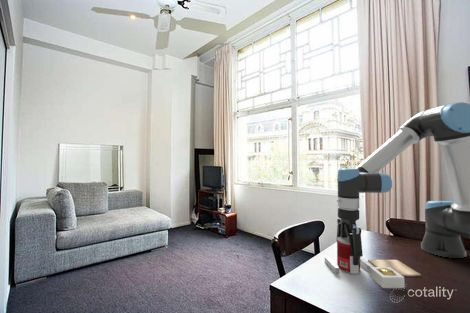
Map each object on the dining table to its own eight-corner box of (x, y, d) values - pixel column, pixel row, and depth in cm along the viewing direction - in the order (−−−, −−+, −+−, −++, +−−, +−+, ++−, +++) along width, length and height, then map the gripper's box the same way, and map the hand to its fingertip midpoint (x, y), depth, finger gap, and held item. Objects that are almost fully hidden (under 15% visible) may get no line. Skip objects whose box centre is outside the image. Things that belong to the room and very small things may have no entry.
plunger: (388, 276, 80) (388, 267, 80) (396, 282, 76) (396, 273, 76) (377, 276, 80) (377, 267, 80) (384, 282, 76) (384, 273, 76)
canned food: (363, 274, 83) (363, 244, 83) (340, 272, 85) (339, 242, 85) (356, 264, 91) (356, 236, 91) (335, 262, 92) (335, 235, 92)
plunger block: (389, 276, 81) (389, 267, 81) (404, 288, 74) (404, 277, 74) (370, 276, 81) (370, 267, 81) (383, 288, 74) (382, 277, 74)
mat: (397, 261, 94) (397, 259, 94) (420, 276, 82) (420, 274, 82) (367, 261, 94) (367, 259, 94) (387, 276, 82) (387, 274, 82)
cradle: (360, 262, 93) (360, 256, 93) (375, 274, 83) (375, 267, 83) (324, 262, 93) (324, 256, 93) (335, 274, 83) (335, 267, 83)
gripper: (327, 203, 98) (327, 256, 98) (352, 214, 78) (352, 281, 78) (344, 203, 98) (345, 256, 98) (374, 214, 78) (374, 281, 78)
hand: (348, 267), depth 88 cm, fingers closed on canned food, 8 cm apart
